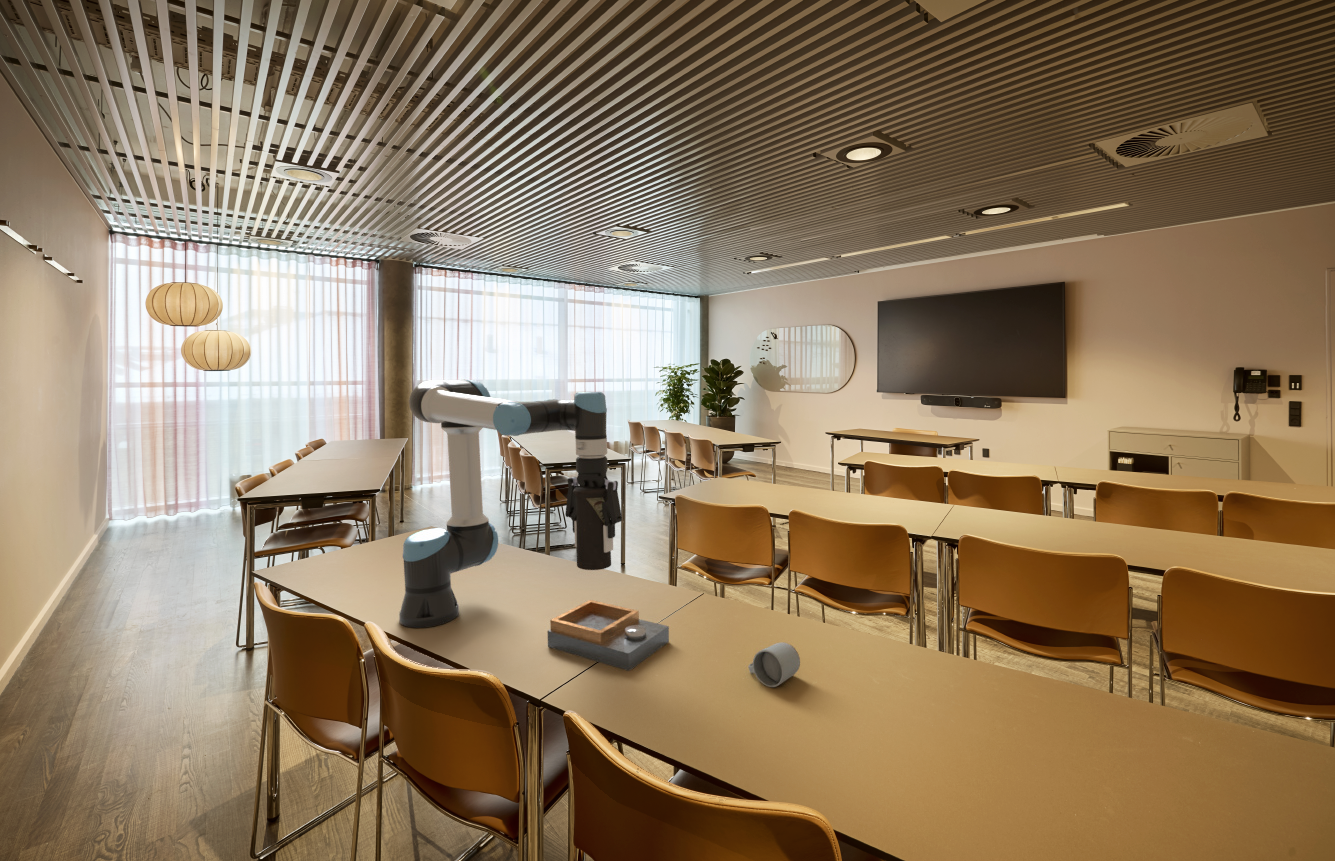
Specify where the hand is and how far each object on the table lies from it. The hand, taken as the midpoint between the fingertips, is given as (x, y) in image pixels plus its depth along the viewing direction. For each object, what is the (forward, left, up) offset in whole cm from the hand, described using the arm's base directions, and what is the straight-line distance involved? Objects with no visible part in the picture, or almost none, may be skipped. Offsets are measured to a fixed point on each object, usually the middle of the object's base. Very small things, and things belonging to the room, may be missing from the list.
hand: (593, 548), depth 148 cm
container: (0, 0, -4) cm, 4 cm away
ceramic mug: (+44, +5, -24) cm, 50 cm away
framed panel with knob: (+4, 0, -23) cm, 24 cm away
